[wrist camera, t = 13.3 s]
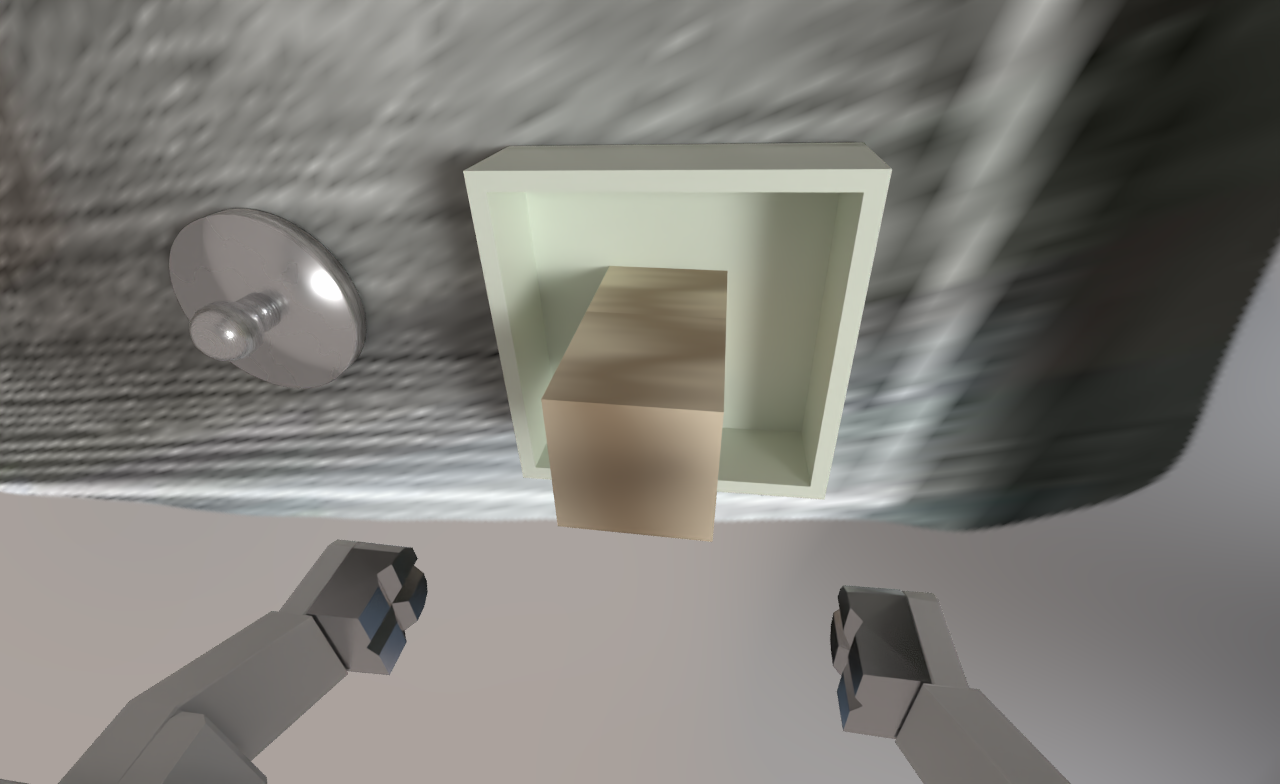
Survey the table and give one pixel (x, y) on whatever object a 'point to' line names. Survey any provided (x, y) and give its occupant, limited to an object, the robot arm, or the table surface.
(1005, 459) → the table surface
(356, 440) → the table surface
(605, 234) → the bin
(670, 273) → the tan rectangular block
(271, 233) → the grey pot lid
